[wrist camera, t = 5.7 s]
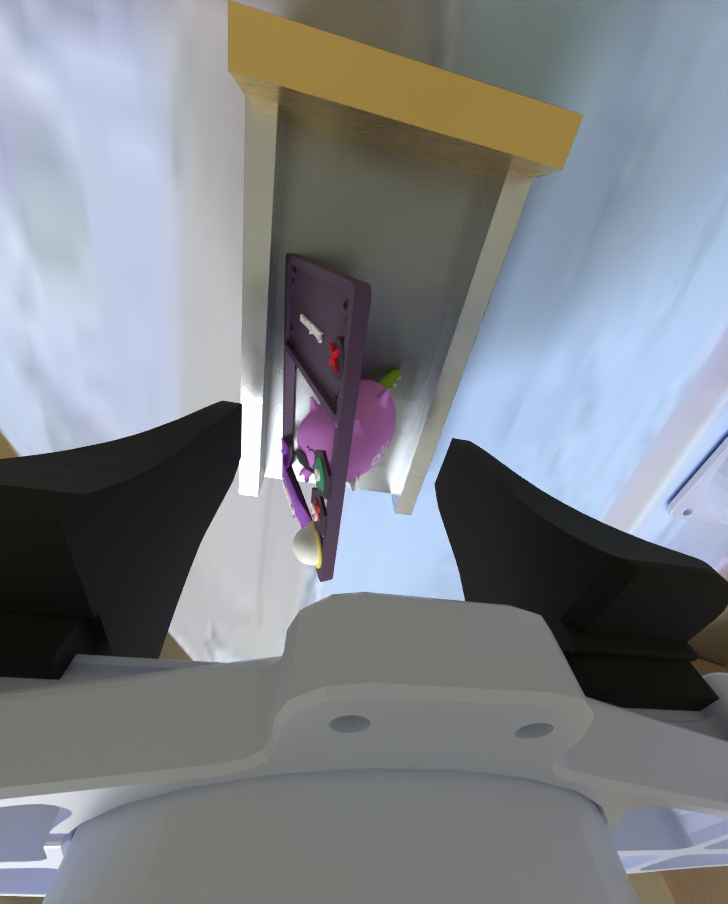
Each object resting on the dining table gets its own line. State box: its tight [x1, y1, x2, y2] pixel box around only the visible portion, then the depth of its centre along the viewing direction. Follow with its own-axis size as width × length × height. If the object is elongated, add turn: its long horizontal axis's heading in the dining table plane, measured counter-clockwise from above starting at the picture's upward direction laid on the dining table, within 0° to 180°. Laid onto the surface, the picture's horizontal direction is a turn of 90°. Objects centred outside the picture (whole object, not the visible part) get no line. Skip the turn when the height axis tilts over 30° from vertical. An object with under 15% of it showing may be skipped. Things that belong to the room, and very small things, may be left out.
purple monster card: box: [281, 253, 401, 582], centre depth 12 cm, size 7×5×9 cm
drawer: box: [228, 0, 583, 515], centre depth 12 cm, size 8×14×4 cm, turn 169°
